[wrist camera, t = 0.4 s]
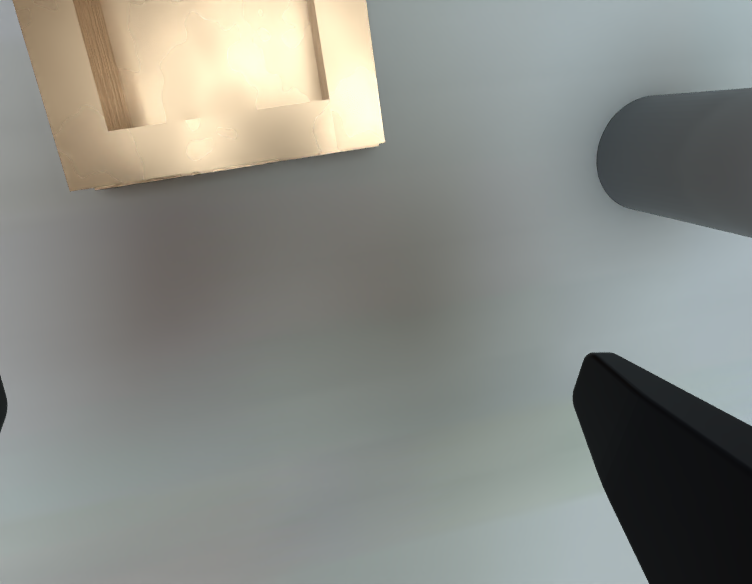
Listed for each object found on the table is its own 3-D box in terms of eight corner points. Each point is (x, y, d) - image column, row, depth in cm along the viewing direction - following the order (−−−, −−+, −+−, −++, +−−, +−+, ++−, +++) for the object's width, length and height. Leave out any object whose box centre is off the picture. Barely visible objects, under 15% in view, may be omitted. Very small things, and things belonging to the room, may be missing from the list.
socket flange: (376, 145, 21) (393, 149, 18) (100, 188, 20) (63, 201, 17) (332, -172, 19) (343, -239, 15) (6, -141, 17) (-61, -206, 14)
